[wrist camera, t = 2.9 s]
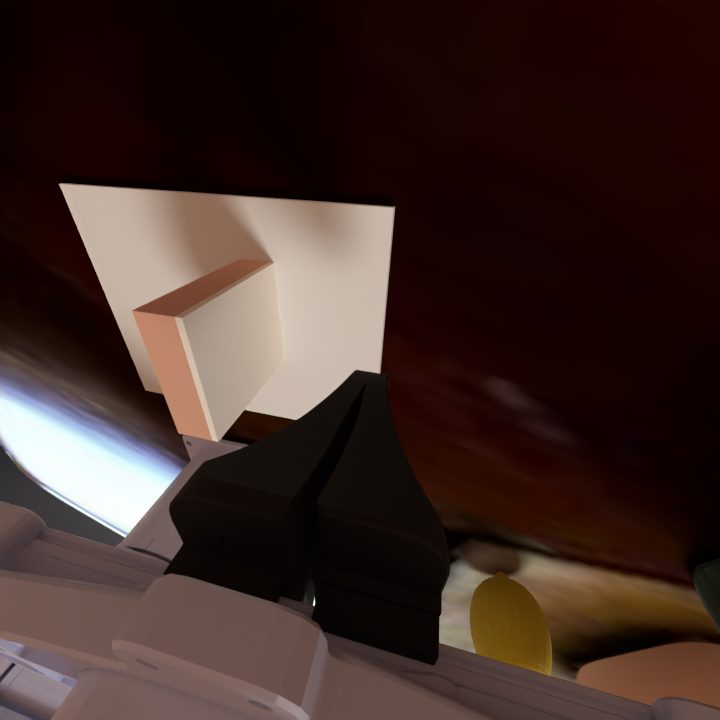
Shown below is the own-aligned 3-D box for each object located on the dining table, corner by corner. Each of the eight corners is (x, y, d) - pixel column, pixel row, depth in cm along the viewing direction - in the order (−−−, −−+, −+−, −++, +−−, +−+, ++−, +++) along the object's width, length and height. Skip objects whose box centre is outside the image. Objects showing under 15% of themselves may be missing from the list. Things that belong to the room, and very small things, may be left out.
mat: (375, 430, 22) (374, 434, 21) (149, 387, 25) (145, 390, 24) (394, 206, 14) (393, 207, 14) (66, 183, 17) (59, 183, 17)
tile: (284, 359, 20) (218, 441, 14) (255, 354, 20) (178, 433, 14) (274, 262, 16) (182, 318, 11) (239, 259, 17) (131, 310, 11)
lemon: (515, 595, 29) (536, 725, 22) (456, 574, 29) (460, 695, 22) (550, 571, 26) (587, 712, 19) (484, 546, 26) (498, 678, 19)
